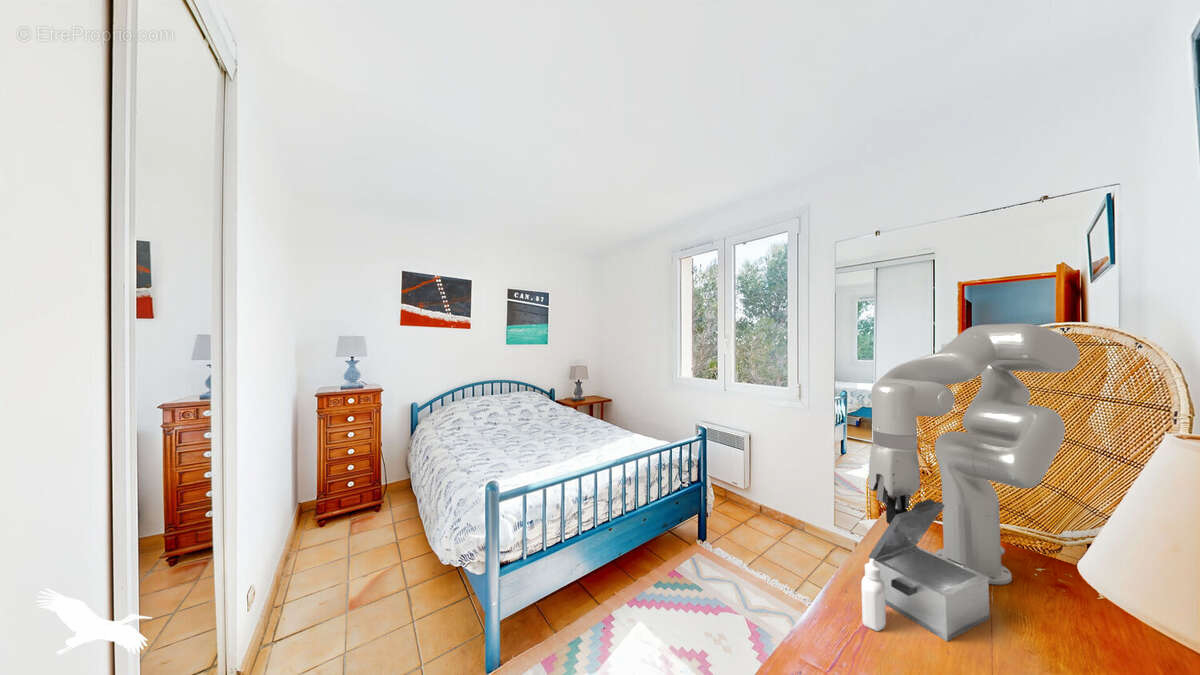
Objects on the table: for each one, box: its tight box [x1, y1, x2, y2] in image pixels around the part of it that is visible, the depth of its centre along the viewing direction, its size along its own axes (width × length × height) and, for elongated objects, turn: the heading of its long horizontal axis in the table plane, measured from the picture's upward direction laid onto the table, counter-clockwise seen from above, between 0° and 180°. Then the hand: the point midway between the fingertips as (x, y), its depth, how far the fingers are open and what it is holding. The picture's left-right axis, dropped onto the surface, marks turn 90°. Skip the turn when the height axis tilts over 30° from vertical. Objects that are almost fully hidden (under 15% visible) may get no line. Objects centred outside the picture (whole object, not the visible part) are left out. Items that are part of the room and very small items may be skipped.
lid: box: [868, 498, 945, 560], centre depth 77 cm, size 15×15×1 cm
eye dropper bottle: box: [860, 558, 887, 632], centre depth 71 cm, size 4×6×12 cm
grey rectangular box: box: [875, 545, 991, 642], centre depth 74 cm, size 19×12×8 cm, turn 111°
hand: (896, 525), depth 80 cm, fingers closed
